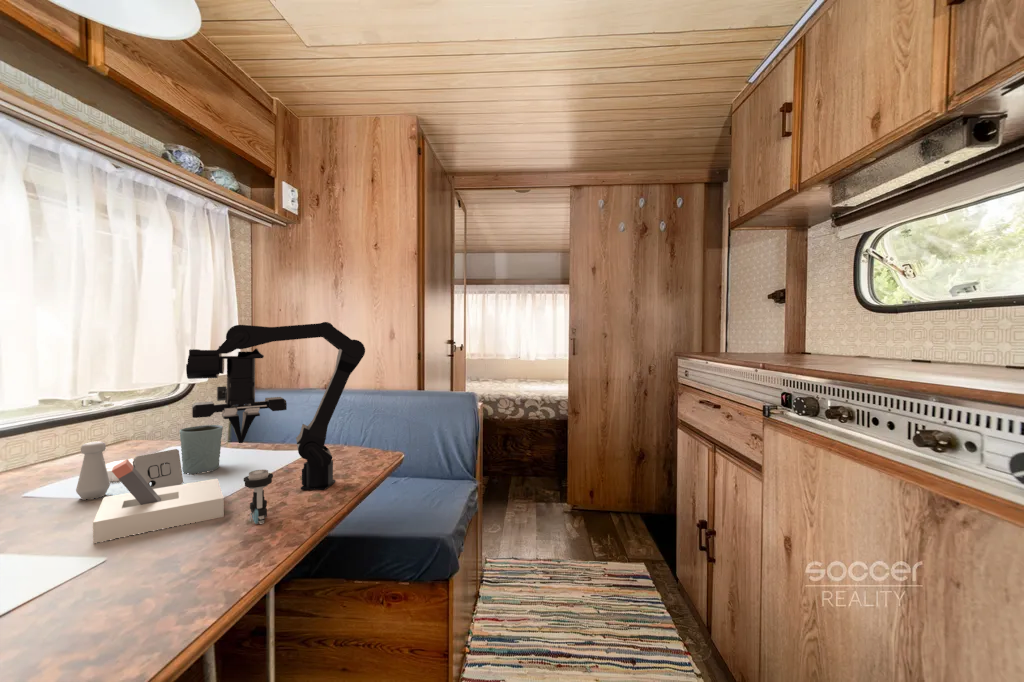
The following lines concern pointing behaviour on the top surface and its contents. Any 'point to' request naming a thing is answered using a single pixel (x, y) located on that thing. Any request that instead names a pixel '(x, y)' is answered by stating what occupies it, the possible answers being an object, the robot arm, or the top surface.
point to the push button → (258, 493)
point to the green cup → (200, 448)
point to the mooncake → (110, 466)
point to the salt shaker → (93, 472)
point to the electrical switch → (160, 468)
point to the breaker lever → (135, 483)
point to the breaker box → (158, 510)
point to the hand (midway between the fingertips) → (240, 442)
